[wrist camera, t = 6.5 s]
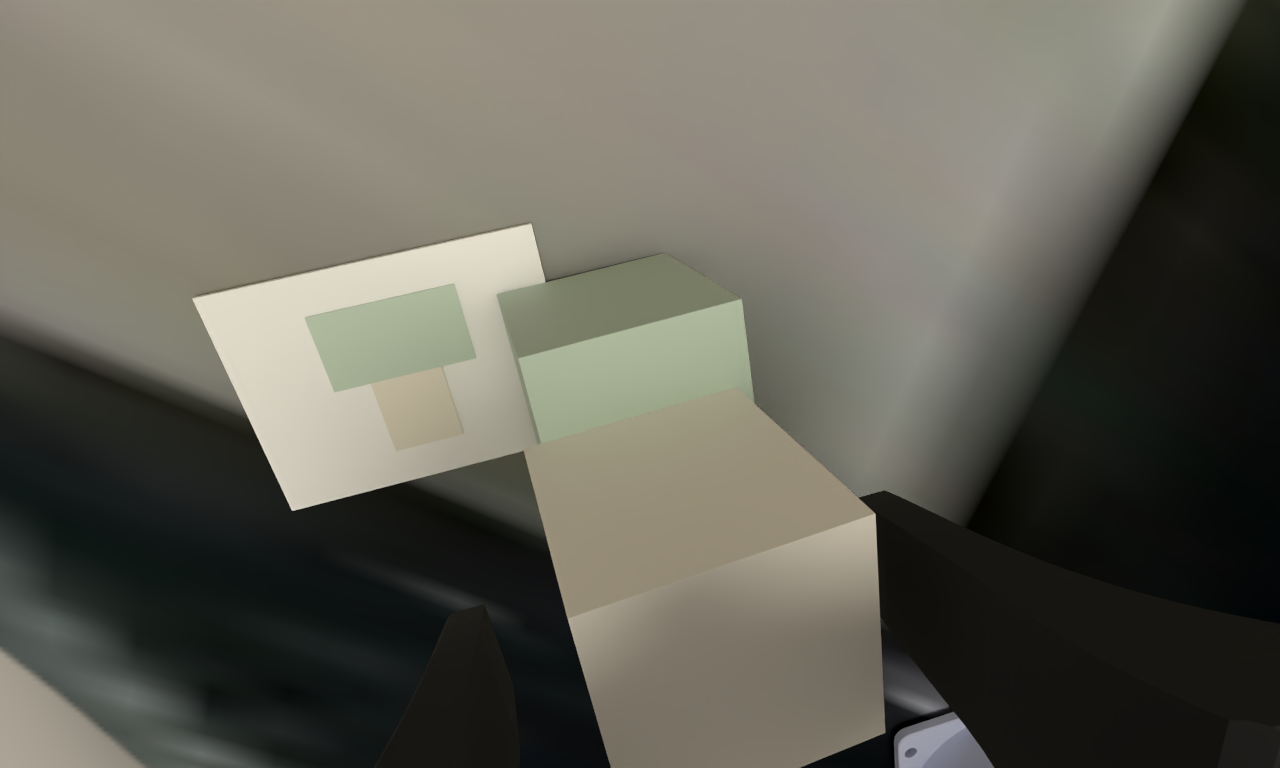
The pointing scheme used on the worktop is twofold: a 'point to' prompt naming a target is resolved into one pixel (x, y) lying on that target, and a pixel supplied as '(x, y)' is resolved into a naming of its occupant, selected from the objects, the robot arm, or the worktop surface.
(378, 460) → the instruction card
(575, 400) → the sage brick
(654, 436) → the ivory brick
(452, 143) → the worktop surface
